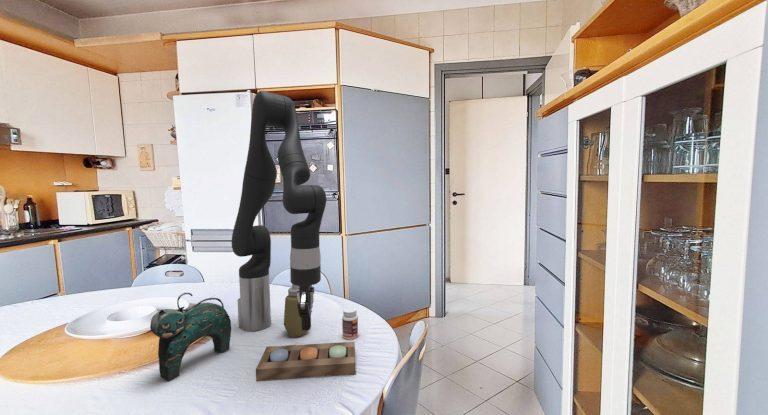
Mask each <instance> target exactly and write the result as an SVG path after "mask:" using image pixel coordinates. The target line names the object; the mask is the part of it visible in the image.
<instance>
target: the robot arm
mask: <svg viewBox="0 0 768 415" xmlns="http://www.w3.org/2000/svg"><path fill="white" fill-rule="evenodd" d="M253 98H254V99H253V102H252V107H251V119H250V120H251V121H250V132H249V141H248V142H249V143H248V150H247V151H248V152H247V156H246V162H245V167H244V172H243V178H242V186H241V187H242V188H241V195H240V201H239V207H238V211H237V215H236V218H235V221H234V226H233V229H232V235H231V249H232V252H233V253H234V255H236V256H237V257H240V258H241V257H248V256H251V257H250V258H249V260H248V261H246V262H245V263H244V264H242V265H241V266H240V267H239V269H238V277H239V279H238V282H239V298H238V299H237V318H238V319H237V321H238V328H240V329H241V330H243V331H247V332H256V331H261V330H264V329H266V328H268V327H270V326H271V324H272V315H271V309H272V308H271V290H270V288H271V287H270V267H271V262H272V261H271V260H272V258H271V257H272V256H271V253H272V240H271V239H272V238H271V234H270V231H269V229H268V228H267V227H266V226H264V225H262V224H260V225H254V223H255V220H256V218H257V216H258V215H259V213H260V212H261V210H262V209H263V208H264V207H265V206H266V204H267V203H268V202H269V201H270V199H271V197H272V196H273V194H274V192H275V186H276V181H277V176H278V170H277V165H276V164H275V161H274V158H273V156H272V155H271V153H270V150H269V148H268V144H267V140H266V129H267V126H268V127H271V128H278V129H279V128H280V129H282V130H283V132H284V135H285V136H284V138H283V140H282V141H281V143H280V145H279V148H278V151H277V162H278V167H279V169H280V172H281V176H282V183H283V184H282V185H283V188H282V191H283V192H282V205H283V207H284V210H286V211H287V213H289V214H290V215H299V214H300V215H301V214H307V217H306V218H305V219H304V220H303V221H300V222H296V223H294V224H293V225H291V228H290V252H289V253H290V255H289V256H290V257H289V261H290V263H289V266H290V267H289V268H290V272H289V274H290V275H289V276H290V283H291V284H294V285H297V286H299V291H297V298H298V304H297V306H298V311H299V316H300V317H302V330H307V331H310V330H311V328H312V312H313V310H312V309H313V307H314V295H315V286H314V285H317V284H318V283H320V282H321V280H322V276H321V275H322V273H321V272H322V270H321V268H322V267H321V266H322V265H321V261H322V260H321V257H322V256H321V248H320V230H321V225H322V220H323V216H324V213H325V209H326V205H327V194H326V191H325V190H324V188H323V187H322V186H320V185H318V184H307V185H306V183H307V182H308V181H309V180H310V178H311V171H310V167H309V165H308V162H307V159H306V156H305V153H304V150H303V146H302V141H301V133H300V128H299V126H300V125H299V120H298V114H297V110H296V106H295V103H294V101H293V99H291V98H290V97H288V96H285V95H282V94H276V93H272V92H269V91H265V90H260V91H257V93H256V94H255V96H254V97H253ZM304 184H305V185H304Z"/></svg>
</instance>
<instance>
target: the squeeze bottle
mask: <svg viewBox="0 0 768 415" xmlns="http://www.w3.org/2000/svg"><path fill="white" fill-rule="evenodd" d="M291 284H292V283H291ZM297 291H299V286H297V285H294V284H292V285H291V287H290V288H288V290H287V295H286V297H285V300H284V301H285V302H284V314H283V327H284V328H285V331H286V333H287V335H288V337H289V336H290V337H293V338H294V337H295V338H297V337H301V336H304V335H306V334H307V333H308V330H302V317H300V316H299V311H298V306H297V304H298V298H297Z"/></svg>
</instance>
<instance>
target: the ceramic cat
mask: <svg viewBox="0 0 768 415" xmlns="http://www.w3.org/2000/svg"><path fill="white" fill-rule="evenodd" d="M184 295H190V296H191V297H193V294H192V293H190V292H184V293H181V294H180V295H179V296H178V298H177V303H176V304H177V309H173V308H166V309H165V308H164V309H163V308H162V309H161V310H159V311H157V312H156V313H155V314H154V315H153V316H152V317H151V318H150V331H151V332H152V334H153V335H155V336H156V337H158V348H157V349H158V351H157V353H158V369H159V377H160V378H161V379H162V380H164V381H167V382H170V381H171V380H174V379H176V378H178V377H179V376H180V370H181V364H182V361H183V358H184V355H185V353H186V351H187V350H188V348H189V347H190V346H191V345H192V344H194V343H195V342H196V341H198V340H199V339H202V338H203V337H204V338H205V337H210V338H211V339H212V342H213V351H214V352H215V353H218V354H224V353H226V352H228V351H229V350H230V347H231V346H230V344H231V337H232V336H231V335H232V321H231V318H230V315H229V314H228V311H226V309H225V307H224V303H223V301H222V300H221V298H218V297H209V298H205V299H202V300H200V301H199V302H198V303H195V304H193V305H191V306H188V307H187V308H186V307H185V306H182V307H181V306H180V304H179V303H180V302H179V301H180V299H181V297H182V296H184ZM211 300H216V301H218V302H220V304H221V305H220V304H217V303H213V302H206V301H211Z"/></svg>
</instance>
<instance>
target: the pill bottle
mask: <svg viewBox="0 0 768 415" xmlns="http://www.w3.org/2000/svg"><path fill="white" fill-rule="evenodd" d="M342 312H343V313H342V314H343V315H342V317H341V318H342V319H341V321H342V322H341V323H342V337H343V338H344V339H345V340H355V339H357V337H358V336H359V327H358V326H359V324H358V322H359V315H357V309H356V308H355V307H345V308H344V309H343V310H342Z"/></svg>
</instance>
